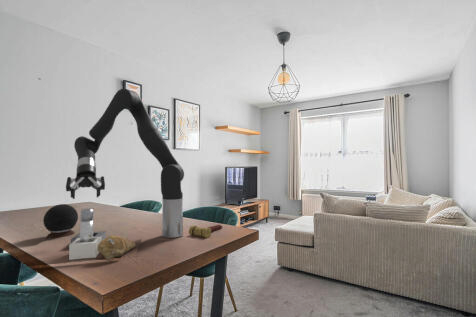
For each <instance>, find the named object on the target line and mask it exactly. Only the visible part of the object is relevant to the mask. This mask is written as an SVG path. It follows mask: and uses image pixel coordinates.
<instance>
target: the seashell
mask: <svg viewBox="0 0 476 317" xmlns="http://www.w3.org/2000/svg"><path fill="white" fill-rule="evenodd" d="M136 245H137V244H136V242H134V241H132V240H130V239H129V238H126V237H124V236H118V235H116V234H115V235H109V236H106V238H105V239H103V240H102V241H101V242H100V243H99V245H98V251H99V252H100V253H99V254H101V255H102V256H103V258H104V259H105V260H107V261H110V260H113V259H114V258H115V259H119V258H120V257H122V256H123V255H124V254H126V253H128V252H129V251H131V250H132V249H134V248H135V247H136Z"/></svg>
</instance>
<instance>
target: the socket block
mask: <svg viewBox="0 0 476 317" xmlns="http://www.w3.org/2000/svg"><path fill="white" fill-rule="evenodd" d="M106 232H107V231H106V230H103V231H101V230H99V231H93V237H102V240H103V239H105V238H107V235H106V234H107V233H106ZM77 238H80V232H79V233H77V234H76V235H75V236H73V237H72V238H70V244H71V243H72V242H74V241H75V240H76V239H77Z"/></svg>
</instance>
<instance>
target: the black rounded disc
mask: <svg viewBox="0 0 476 317" xmlns="http://www.w3.org/2000/svg"><path fill="white" fill-rule="evenodd" d="M78 219H79V214H78V211H77V210H76V208H75V207H73V206H72V205H70V204H64V203H63V204H57V205H54V206H51V207H50V208H49V209H48V210H47V211H46V212H45V214H44V216H43V220H42V221H43V225H44V226H43V227H44V228H45V229H46V230H48V232H50V233H48V234H47V235H46V236H45V240H48V239H57V238H65V237H70V236H73V235H75V231H74V230H72V229H73V228H74V227H75V226H76V224H77V222H78Z"/></svg>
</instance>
